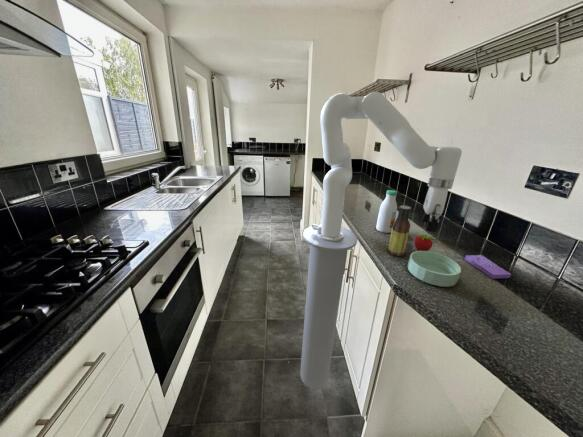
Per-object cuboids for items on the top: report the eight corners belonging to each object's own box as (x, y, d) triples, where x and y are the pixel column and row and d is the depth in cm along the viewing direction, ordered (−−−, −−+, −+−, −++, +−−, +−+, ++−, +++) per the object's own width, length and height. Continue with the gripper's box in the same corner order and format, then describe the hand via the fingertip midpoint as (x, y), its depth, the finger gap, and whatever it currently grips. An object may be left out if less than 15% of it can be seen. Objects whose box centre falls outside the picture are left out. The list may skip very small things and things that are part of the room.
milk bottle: (383, 234, 110) (392, 193, 103) (372, 228, 117) (379, 189, 109) (395, 232, 113) (404, 192, 106) (384, 226, 120) (391, 188, 112)
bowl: (409, 280, 77) (412, 268, 75) (405, 258, 90) (408, 247, 88) (462, 293, 72) (467, 280, 70) (450, 267, 85) (454, 256, 83)
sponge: (480, 259, 92) (481, 255, 91) (510, 278, 80) (512, 274, 80) (463, 259, 91) (465, 255, 91) (491, 278, 80) (493, 274, 79)
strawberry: (421, 249, 98) (427, 227, 94) (432, 259, 91) (439, 236, 87) (407, 249, 97) (413, 227, 93) (418, 259, 90) (424, 236, 86)
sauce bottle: (398, 248, 97) (408, 204, 90) (407, 256, 92) (419, 209, 84) (383, 249, 96) (393, 204, 89) (392, 257, 91) (403, 209, 83)
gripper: (425, 177, 92) (415, 217, 98) (432, 187, 76) (420, 233, 83) (447, 179, 89) (435, 220, 95) (459, 189, 74) (444, 237, 80)
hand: (428, 226), depth 89 cm, fingers open, 9 cm apart
